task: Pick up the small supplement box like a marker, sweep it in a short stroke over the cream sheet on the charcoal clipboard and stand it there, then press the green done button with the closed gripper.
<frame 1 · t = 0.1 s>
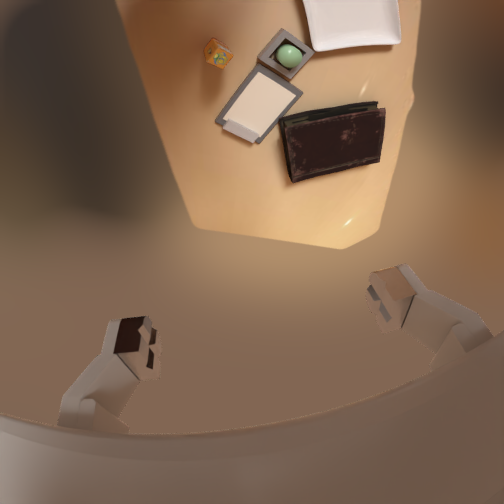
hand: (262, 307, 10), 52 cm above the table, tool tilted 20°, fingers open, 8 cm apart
done button: (288, 55, 43), point 3 cm above the table, slide at 0.0 cm
salad plate: (346, 0, 35), on the table
button bezel: (284, 52, 44), on the table
clipboard: (258, 104, 54), on the table
supplement box: (215, 47, 42), on the table
diary: (331, 135, 63), on the table, touching clipboard
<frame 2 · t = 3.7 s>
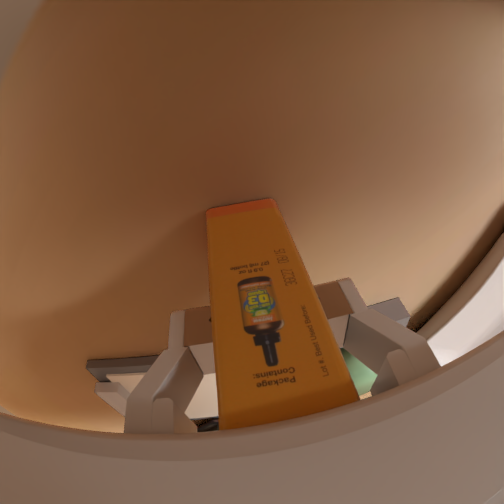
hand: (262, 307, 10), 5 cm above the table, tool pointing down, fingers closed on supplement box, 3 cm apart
done button: (356, 368, 19), point 3 cm above the table, slide at 0.0 cm
salad plate: (480, 297, 23), on the table
button bezel: (345, 342, 21), on the table
clipboard: (198, 388, 22), on the table
supplement box: (244, 229, 14), on the table, touching gripper
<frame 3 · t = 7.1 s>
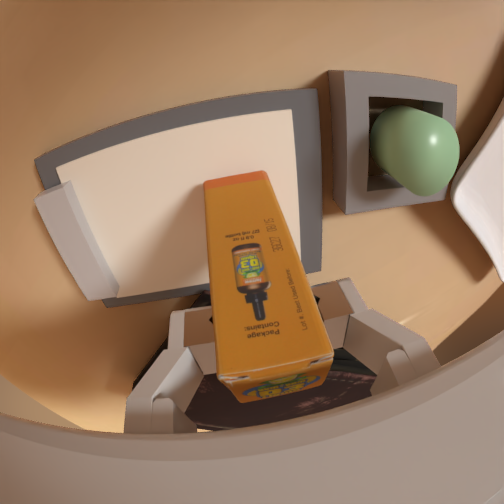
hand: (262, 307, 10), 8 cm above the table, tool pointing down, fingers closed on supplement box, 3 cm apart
done button: (415, 148, 12), point 3 cm above the table, slide at 0.0 cm
button bezel: (389, 135, 15), on the table
clipboard: (184, 210, 16), on the table
supplement box: (238, 198, 15), point 1 cm above the table, touching clipboard, gripper
diary: (271, 372, 28), on the table, touching clipboard
when the fingers open (7 cm above the table, at t = 9.0 s): supplement box stays where it is, resting on clipboard.
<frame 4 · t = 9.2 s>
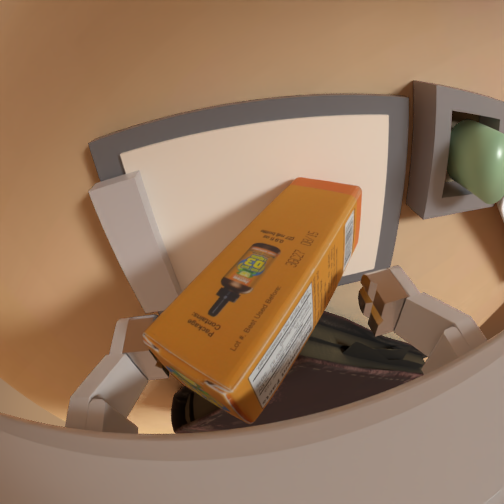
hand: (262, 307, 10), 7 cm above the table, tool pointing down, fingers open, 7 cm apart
done button: (482, 160, 12), point 3 cm above the table, slide at 0.0 cm
button bezel: (454, 145, 14), on the table
clipboard: (269, 210, 15), on the table
supplement box: (333, 209, 13), point 2 cm above the table, touching clipboard, gripper
diary: (318, 376, 27), on the table, touching clipboard
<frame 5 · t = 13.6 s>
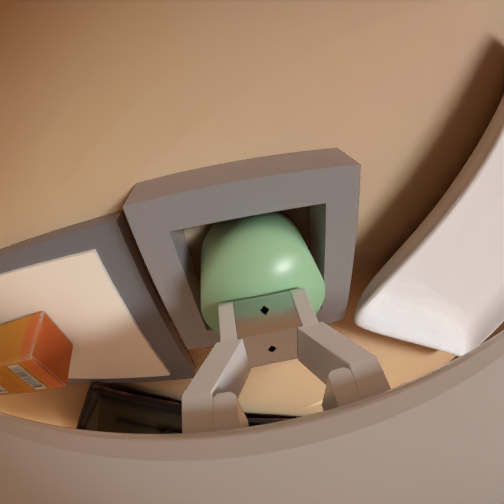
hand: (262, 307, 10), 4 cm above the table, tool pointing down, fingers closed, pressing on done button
done button: (258, 277, 11), point 2 cm above the table, slide at 0.7 cm, touching gripper
salad plate: (495, 220, 15), on the table
button bezel: (251, 247, 12), on the table
clipboard: (54, 324, 14), on the table
supplement box: (59, 351, 12), point 3 cm above the table, touching clipboard
diary: (194, 432, 26), on the table, touching clipboard
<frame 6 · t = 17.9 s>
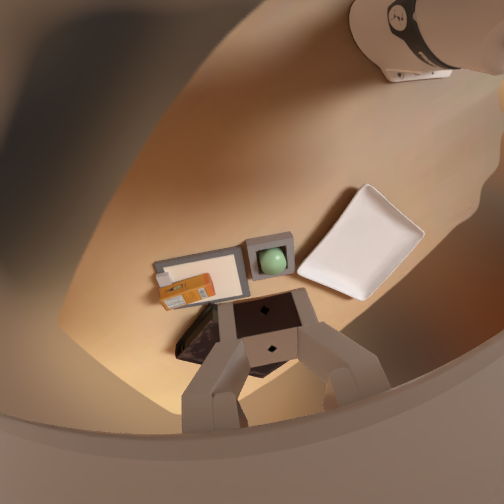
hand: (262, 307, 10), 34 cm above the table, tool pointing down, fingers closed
done button: (272, 260, 50), point 2 cm above the table, slide at 0.7 cm
salad plate: (359, 242, 54), on the table
button bezel: (270, 253, 51), on the table
clipboard: (204, 278, 53), on the table
supplement box: (213, 284, 51), point 3 cm above the table, touching clipboard
diary: (239, 338, 65), on the table, touching clipboard
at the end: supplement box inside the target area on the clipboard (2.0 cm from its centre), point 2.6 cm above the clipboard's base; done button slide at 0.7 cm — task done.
